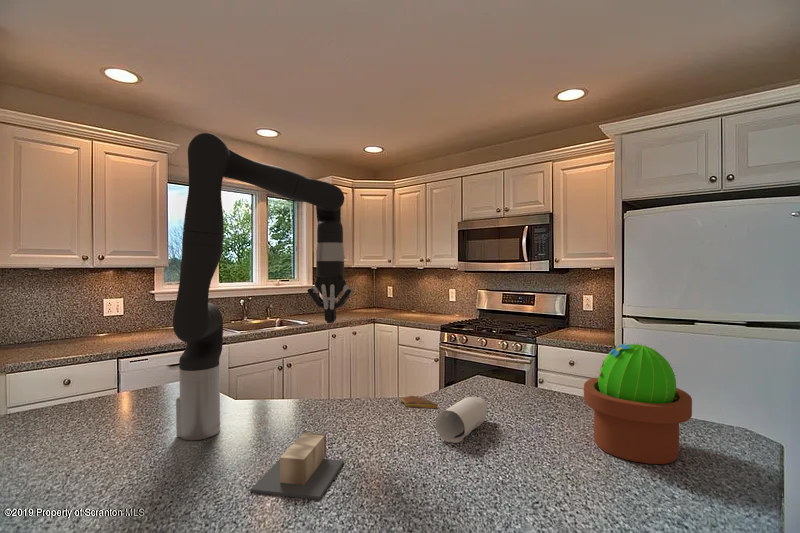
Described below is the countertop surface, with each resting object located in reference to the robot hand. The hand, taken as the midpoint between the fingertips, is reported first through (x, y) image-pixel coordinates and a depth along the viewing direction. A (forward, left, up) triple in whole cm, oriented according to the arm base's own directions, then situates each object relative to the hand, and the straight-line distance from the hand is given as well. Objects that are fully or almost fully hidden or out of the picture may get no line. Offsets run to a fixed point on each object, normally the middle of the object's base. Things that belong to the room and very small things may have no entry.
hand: (330, 322), depth 114 cm
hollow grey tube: (+36, 0, -27) cm, 45 cm away
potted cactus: (+76, -3, -27) cm, 81 cm away
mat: (+4, -29, -27) cm, 40 cm away
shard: (+22, +18, -28) cm, 40 cm away
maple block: (+4, -21, -24) cm, 32 cm away
